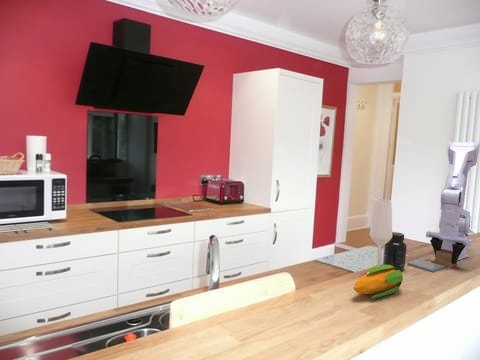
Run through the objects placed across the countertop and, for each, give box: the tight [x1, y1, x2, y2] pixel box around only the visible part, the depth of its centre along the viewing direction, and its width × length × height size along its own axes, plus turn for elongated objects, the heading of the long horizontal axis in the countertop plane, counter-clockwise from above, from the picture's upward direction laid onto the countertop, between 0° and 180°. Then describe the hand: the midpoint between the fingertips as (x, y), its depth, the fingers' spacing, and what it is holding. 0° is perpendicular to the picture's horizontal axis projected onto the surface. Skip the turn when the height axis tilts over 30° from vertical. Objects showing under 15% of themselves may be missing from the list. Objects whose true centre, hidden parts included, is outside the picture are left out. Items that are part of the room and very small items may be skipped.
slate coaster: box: [406, 258, 446, 273], centre depth 131 cm, size 8×9×1 cm
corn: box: [353, 264, 404, 300], centre depth 105 cm, size 7×8×20 cm
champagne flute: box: [366, 198, 393, 274], centre depth 119 cm, size 7×7×24 cm
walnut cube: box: [434, 249, 457, 269], centre depth 134 cm, size 5×5×5 cm
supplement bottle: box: [382, 231, 407, 272], centre depth 128 cm, size 7×7×12 cm
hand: (445, 261), depth 134 cm, fingers closed on walnut cube, 5 cm apart
